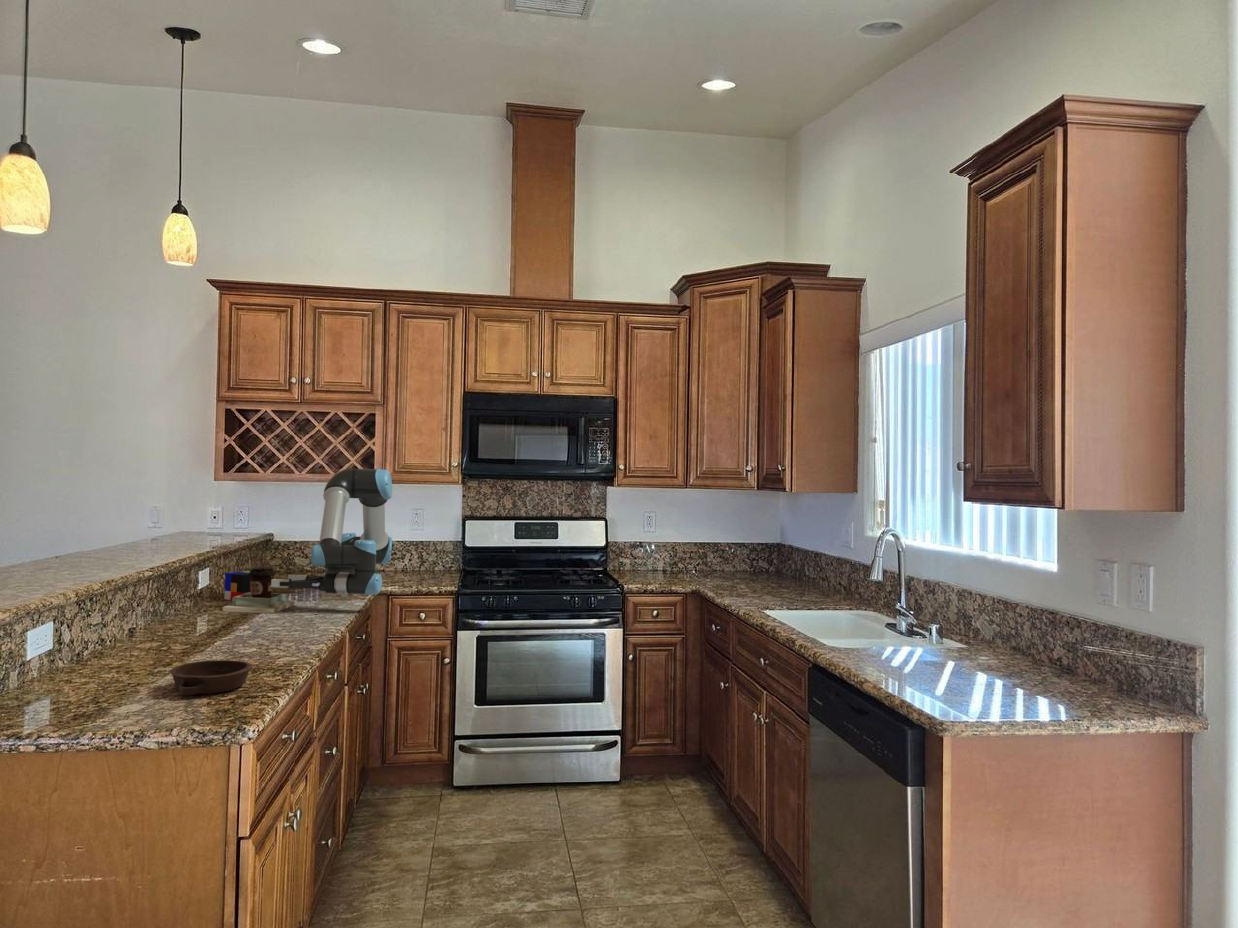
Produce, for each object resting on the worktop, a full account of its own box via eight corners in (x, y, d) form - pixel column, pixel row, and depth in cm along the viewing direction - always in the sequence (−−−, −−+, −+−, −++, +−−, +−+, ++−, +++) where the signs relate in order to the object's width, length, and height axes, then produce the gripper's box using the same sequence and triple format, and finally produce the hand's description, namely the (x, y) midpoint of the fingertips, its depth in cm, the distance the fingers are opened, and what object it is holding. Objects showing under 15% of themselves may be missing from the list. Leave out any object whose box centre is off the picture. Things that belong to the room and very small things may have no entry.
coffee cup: (257, 606, 313) (258, 569, 313) (242, 603, 317) (244, 567, 317) (278, 603, 320) (279, 567, 320) (264, 601, 324) (265, 565, 325)
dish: (267, 678, 217) (268, 658, 217) (227, 701, 195) (227, 679, 195) (196, 676, 217) (197, 655, 217) (148, 699, 195) (149, 676, 195)
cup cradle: (248, 602, 329) (249, 590, 329) (296, 604, 328) (296, 592, 328) (222, 611, 309) (223, 598, 309) (272, 613, 308) (273, 600, 308)
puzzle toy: (224, 599, 336) (225, 573, 336) (246, 596, 345) (247, 570, 345) (242, 601, 331) (243, 575, 331) (264, 598, 340) (265, 572, 340)
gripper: (324, 598, 305) (264, 595, 306) (349, 588, 329) (294, 586, 331) (325, 576, 305) (264, 574, 306) (350, 568, 330) (294, 566, 331)
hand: (280, 580), depth 318 cm, fingers open, 13 cm apart
